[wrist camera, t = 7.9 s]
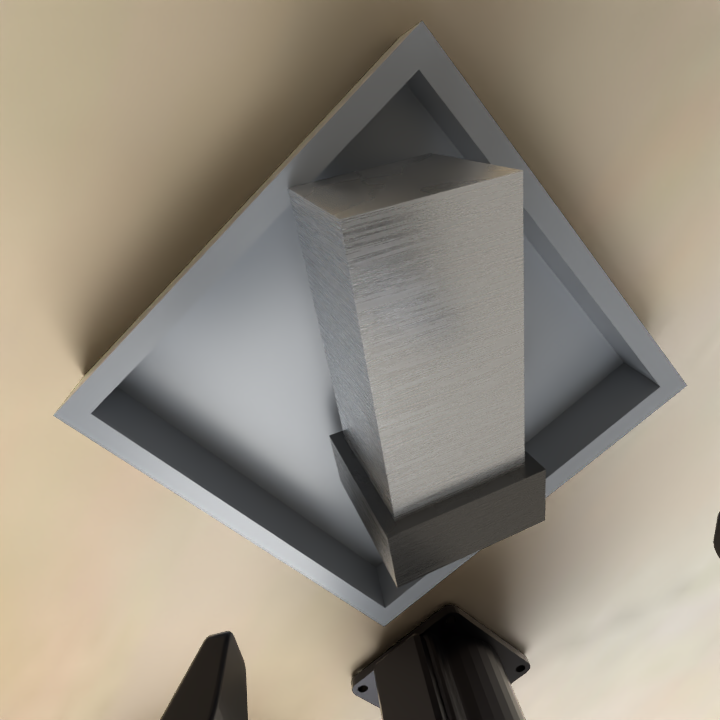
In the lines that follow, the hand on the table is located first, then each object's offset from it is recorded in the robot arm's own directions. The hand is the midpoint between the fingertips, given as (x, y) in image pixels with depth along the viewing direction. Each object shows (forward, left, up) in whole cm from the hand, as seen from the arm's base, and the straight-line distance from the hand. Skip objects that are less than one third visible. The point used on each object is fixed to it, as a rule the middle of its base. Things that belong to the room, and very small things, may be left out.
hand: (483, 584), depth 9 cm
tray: (0, 0, -10) cm, 10 cm away
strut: (-3, +2, -7) cm, 7 cm away
